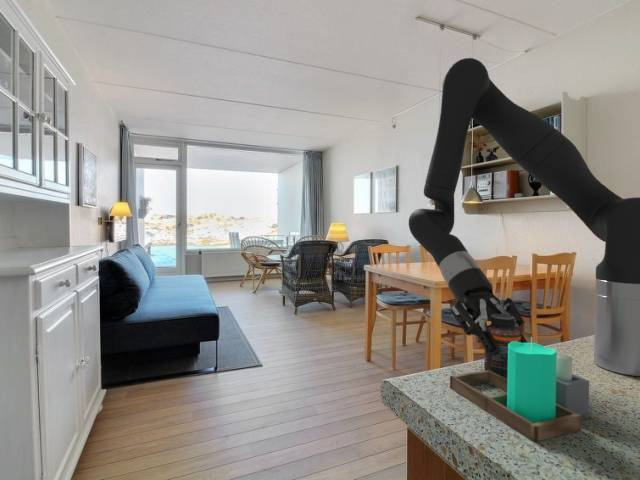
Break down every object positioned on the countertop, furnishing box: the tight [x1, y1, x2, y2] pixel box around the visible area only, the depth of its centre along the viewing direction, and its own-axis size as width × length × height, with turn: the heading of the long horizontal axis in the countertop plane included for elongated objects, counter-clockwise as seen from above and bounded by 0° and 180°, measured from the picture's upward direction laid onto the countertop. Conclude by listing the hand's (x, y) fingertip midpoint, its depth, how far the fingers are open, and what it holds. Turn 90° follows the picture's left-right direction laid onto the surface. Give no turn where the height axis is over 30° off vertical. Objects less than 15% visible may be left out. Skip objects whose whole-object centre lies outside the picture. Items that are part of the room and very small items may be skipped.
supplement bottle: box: [483, 314, 522, 379], centre depth 64 cm, size 6×6×11 cm
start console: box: [556, 373, 590, 417], centre depth 53 cm, size 5×5×5 cm
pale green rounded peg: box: [556, 353, 573, 382], centre depth 52 cm, size 2×2×6 cm
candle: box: [506, 336, 558, 423], centre depth 50 cm, size 6×6×12 cm
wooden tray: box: [449, 369, 582, 443], centre depth 54 cm, size 8×16×2 cm, turn 18°
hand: (510, 351), depth 63 cm, fingers closed on supplement bottle, 6 cm apart
